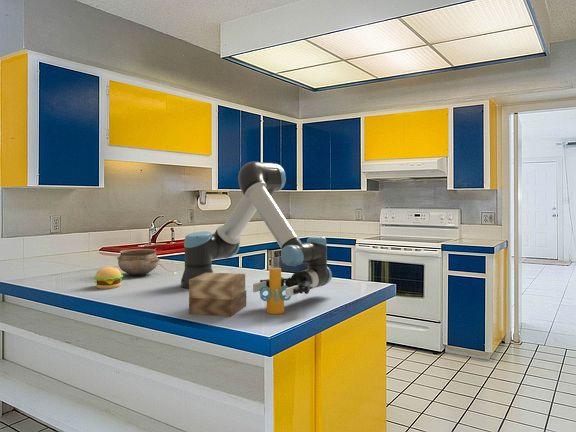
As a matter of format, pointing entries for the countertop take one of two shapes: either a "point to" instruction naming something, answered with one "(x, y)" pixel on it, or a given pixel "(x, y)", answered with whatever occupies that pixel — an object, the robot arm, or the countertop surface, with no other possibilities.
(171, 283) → the countertop surface
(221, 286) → the tower top
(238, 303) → the tower base
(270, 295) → the orange tall piece
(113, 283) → the hamburger
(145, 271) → the cooking pot
